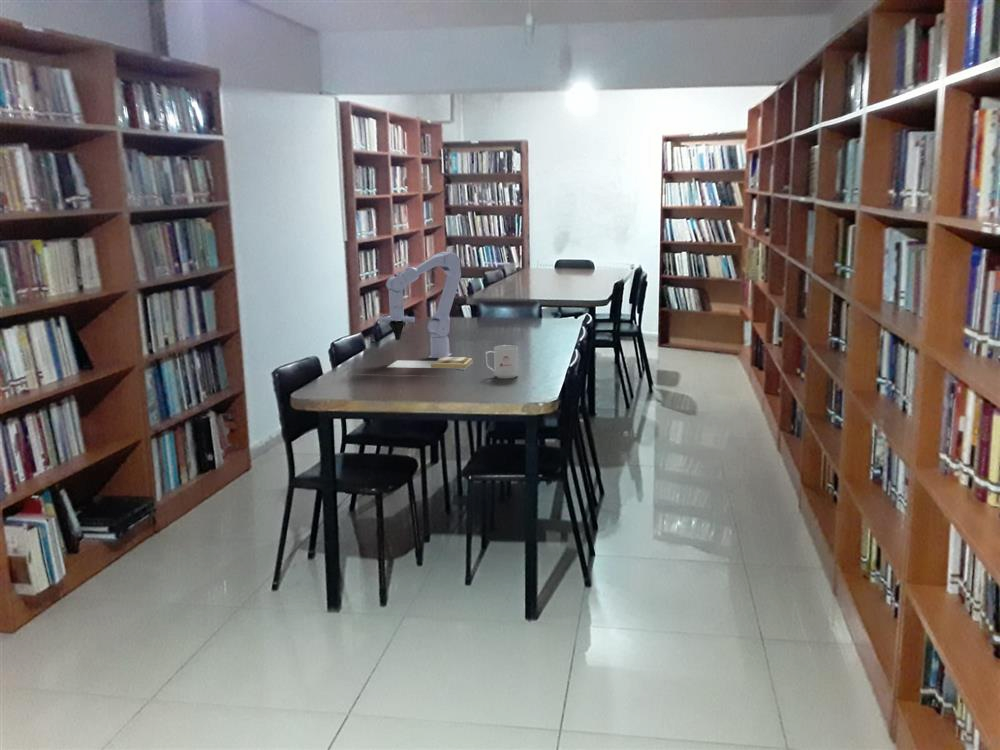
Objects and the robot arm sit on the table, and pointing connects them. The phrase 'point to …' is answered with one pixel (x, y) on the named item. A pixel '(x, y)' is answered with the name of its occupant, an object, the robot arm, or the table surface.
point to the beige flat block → (452, 360)
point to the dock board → (431, 364)
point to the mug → (505, 361)
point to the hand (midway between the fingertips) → (398, 339)
